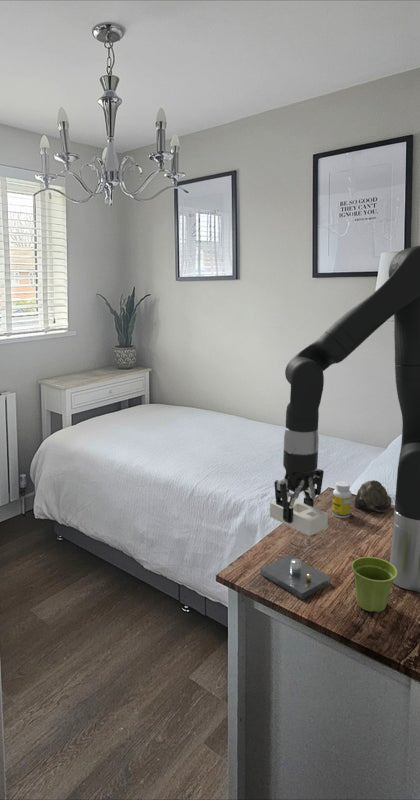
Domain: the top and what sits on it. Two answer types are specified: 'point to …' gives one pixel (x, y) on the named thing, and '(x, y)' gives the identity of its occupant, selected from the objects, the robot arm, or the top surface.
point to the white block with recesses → (302, 517)
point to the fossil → (373, 497)
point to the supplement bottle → (341, 500)
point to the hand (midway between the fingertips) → (298, 517)
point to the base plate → (296, 576)
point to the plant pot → (373, 582)
